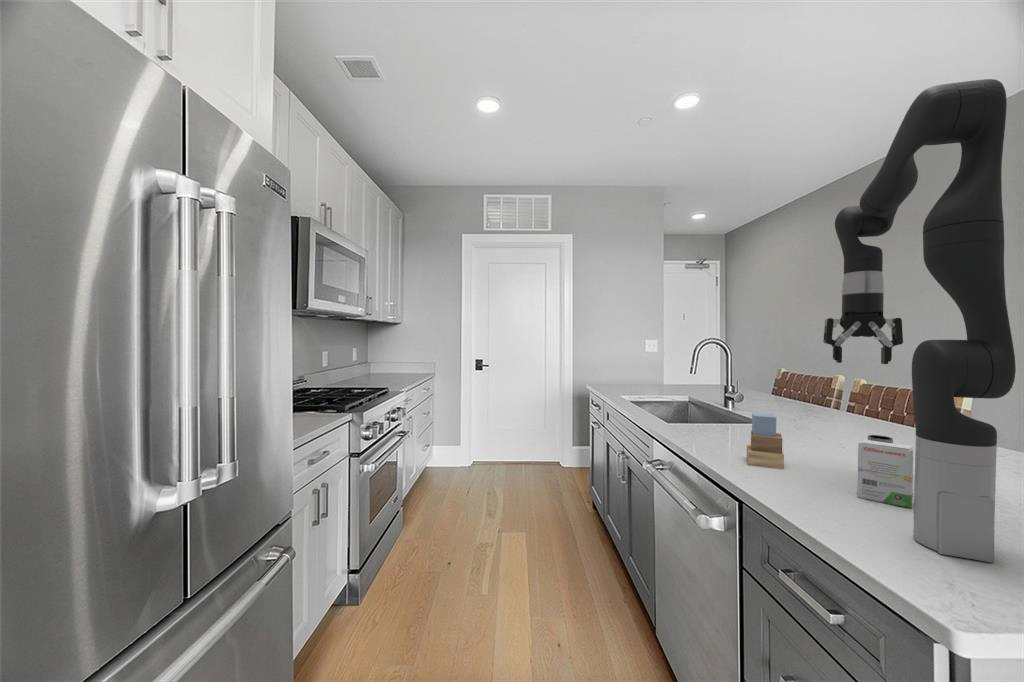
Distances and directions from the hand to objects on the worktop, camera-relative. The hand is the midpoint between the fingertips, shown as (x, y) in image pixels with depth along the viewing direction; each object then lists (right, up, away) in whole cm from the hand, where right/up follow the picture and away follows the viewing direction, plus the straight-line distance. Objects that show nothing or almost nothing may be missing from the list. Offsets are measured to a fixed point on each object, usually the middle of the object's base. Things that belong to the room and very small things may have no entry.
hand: (861, 363), depth 102 cm
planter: (+6, -28, +2) cm, 29 cm away
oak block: (-13, -28, +16) cm, 34 cm away
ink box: (-3, -28, -10) cm, 30 cm away
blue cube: (-14, -20, +16) cm, 28 cm away
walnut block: (-13, -24, +15) cm, 31 cm away
